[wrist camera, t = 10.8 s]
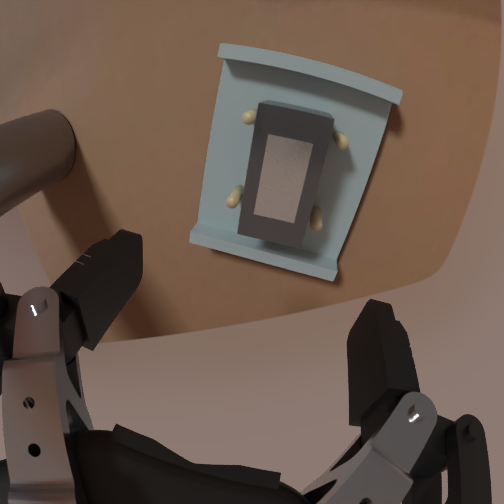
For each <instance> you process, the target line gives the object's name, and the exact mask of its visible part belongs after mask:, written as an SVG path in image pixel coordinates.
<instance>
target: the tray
mask: <svg viewBox="0 0 504 504" xmlns="http://www.w3.org/2000/svg"><path fill="white" fill-rule="evenodd" d="M218 57H219V58H222V59H224V64H223V69H222V74H221V78H220V84H219V89H218V94H217V99H216V105H215V110H214V116H213V121H212V127H211V133H210V139H209V145H208V152H207V158H206V164H205V171H204V178H203V185H202V192H201V200H200V207H199V215H198V222H197V223H196V225H195V226H194V227H193V229H192V230H191V231H190V241H189V242H190V243H194V244H197V245H201V246H204V247H208V248H212V249H215V250H219V251H223V252H226V253H230V254H233V255H237V256H241V257H244V258H248V259H252V260H255V261H259V262H263V263H266V264H270V265H274V266H277V267H281V268H285V269H288V270H292V271H296V272H299V273H303V274H307V275H310V276H314V277H318V278H322V279H325V280H329V281H334V279H335V276H336V274H337V272H338V270H337V257H338V255H339V253H340V250H341V248H342V245H343V243H344V241H345V238H346V236H347V233H348V231H349V228H350V226H351V223H352V221H353V218H354V215H355V213H356V210H357V208H358V205H359V202H360V200H361V197H362V194H363V191H364V189H365V186H366V183H367V180H368V178H369V175H370V172H371V169H372V166H373V163H374V160H375V157H376V154H377V151H378V148H379V145H380V142H381V139H382V136H383V133H384V130H385V126H386V123H387V120H388V117H389V113H390V110H391V106H392V103H393V104H397V105H399V104H400V101H401V97H402V94H403V91H402V90H400V89H397V88H395V87H393V86H390V85H388V84H385V83H382V82H380V81H377V80H375V79H372V78H369V77H366V76H363V75H361V74H358V73H355V72H352V71H349V70H345V69H342V68H339V67H336V66H332V65H329V64H325V63H322V62H318V61H314V60H311V59H307V58H303V57H298V56H294V55H290V54H285V53H280V52H275V51H270V50H265V49H259V48H253V47H247V46H240V45H232V44H224V43H220V47H219V52H218ZM266 100H273V101H278V102H283V103H288V104H293V105H298V106H302V107H307V108H311V109H315V110H319V111H323V112H327V113H330V114H331V115H332V117H333V118H334V119H335V120H334V124H333V129H332V133H331V137H330V141H329V145H328V149H327V153H326V157H325V161H324V165H323V169H322V173H321V177H320V181H319V185H318V189H317V192H316V196H315V200H314V204H313V207H312V211H311V214H310V218H309V222H308V225H307V229H306V232H305V236H304V239H303V243H302V246H301V249H299V248H295V247H291V246H286V245H282V244H278V243H274V242H269V241H265V240H261V239H256V238H252V237H248V236H244V235H239V234H237V231H238V224H239V218H240V211H241V205H242V199H243V192H244V186H245V180H246V174H247V168H248V162H249V156H250V150H251V144H252V138H253V132H254V126H255V120H256V114H257V109H258V103H259V102H262V101H266Z"/></svg>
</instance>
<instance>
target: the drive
mask: <svg viewBox="0 0 504 504" xmlns="http://www.w3.org/2000/svg"><path fill="white" fill-rule="evenodd" d="M334 120H335V119H334V118H333V117H332V115H331V114H330V113H327V112H323V111H319V110H315V109H311V108H307V107H302V106H298V105H293V104H288V103H283V102H278V101H273V100H266V101H262V102H259V103H258V109H257V114H256V120H255V126H254V132H253V138H252V144H251V150H250V156H249V162H248V168H247V174H246V180H245V186H244V192H243V199H242V205H241V211H240V218H239V224H238V231H237V234H239V235H244V236H248V237H252V238H256V239H261V240H265V241H269V242H274V243H278V244H282V245H286V246H291V247H295V248H299V249H301V246H302V243H303V239H304V236H305V232H306V229H307V225H308V222H309V218H310V214H311V211H312V207H313V204H314V200H315V196H316V192H317V189H318V185H319V181H320V177H321V173H322V169H323V165H324V161H325V157H326V153H327V149H328V145H329V141H330V137H331V133H332V129H333V124H334Z"/></svg>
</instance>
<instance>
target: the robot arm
mask: <svg viewBox="0 0 504 504" xmlns="http://www.w3.org/2000/svg"><path fill="white" fill-rule="evenodd" d="M74 158H75V140H74V136H73V132H72V129H71V127H70V124H69V123H68V121H67V119H66V118H65V117H64V116H63V115H62V114H61V113H59V112H58V111H55V110H44V111H41V112H37V113H34V114H31V115H27V116H24V117H21V118H18V119H15V120H12V121H9V122H6V123H3V124H0V217H1V216H2V215H4V214H5V213H7V212H8V211H9V210H11V209H13V208H14V207H16V206H17V205H19V204H20V203H22V202H23V201H25V200H26V199H28V198H30V197H31V196H33V195H35V194H36V193H38V192H39V191H41V190H43V189H45V188H46V187H48V186H50V185H52V184H53V183H55V182H57V181H59V180H60V179H62V178H64V177H65V176H66V175H67V174H68V173H69V171H70V170H71V168H72V165H73V162H74ZM142 273H143V241H142V236H141V235H140V234H136V233H133V232H130V231H126V230H123V229H121V230H119V231H118V232H117V233H116V234H115V235H113V236H112V237H111V238H110V239H109V240H107V239H104V240H102V241H100V242H98V243H96V244H94V245H92V246H91V247H90V248H89V249H88V250H87V251H86V252H85V253H84V255H82V256H80V257H79V258H78V259H77V261H76V262H74V263H73V264H72V265H71V266H70V267H69V268H68V269H67V270H66V271H65V272H64V273H63V274H62V275H61V276H60V277H59V278H58V279H57V280H56V281H55V282H54V283H53V284H52V285H51V287H36V288H32V289H30V290H29V291H27V292H26V293H24V294H23V295H22V296H18V295H11V294H5V292H4V289H3V287H2V284H1V283H0V395H1V394H2V415H3V431H4V442H5V450H6V459H4V460H1V461H0V504H400V503H401V502H402V504H442V480H441V479H442V477H441V472H443V471H445V470H448V498H447V501H446V503H445V504H492V497H491V480H490V468H489V459H488V451H487V444H486V438H485V432H484V428H483V426H482V424H481V422H480V421H479V420H478V419H477V418H476V417H475V416H473V415H469V414H466V415H463V416H461V417H460V418H459V419H457V420H456V421H455V422H454V421H451V420H449V419H446V418H444V417H442V416H439V415H437V411H436V408H435V406H434V404H433V402H432V401H431V400H430V399H429V398H428V397H427V396H426V395H424V394H422V393H420V388H419V383H418V378H417V373H416V369H415V364H414V360H413V357H412V351H411V348H410V347H409V346H410V343H409V339H408V335H407V332H406V331H405V329H404V327H403V326H402V324H401V323H400V321H396V320H395V317H394V313H393V309H392V306H391V304H389V303H385V302H381V301H377V300H373V299H370V300H369V301H368V302H367V303H366V305H365V306H364V308H363V310H362V312H361V313H360V315H359V317H358V318H357V320H356V322H355V323H354V325H353V327H352V328H351V330H350V332H349V335H348V339H347V359H348V383H349V425H352V426H360V427H361V434H359V435H358V436H357V437H356V438H355V440H354V441H353V442H352V443H351V444H350V445H349V446H348V448H347V449H346V450H345V451H344V452H343V453H342V454H341V455H340V457H339V458H338V459H337V460H336V461H335V462H334V463H333V464H332V465H331V466H330V467H329V468H328V469H327V470H326V471H325V472H324V473H323V474H322V475H321V476H320V477H319V478H317V479H316V480H315V481H313V482H312V483H311V484H310V485H308V486H307V487H306V488H305V489H304V490H303V491H302V492H301V493H300V492H298V491H297V490H295V489H294V488H292V487H291V486H289V485H287V484H285V483H283V482H281V481H280V475H281V473H279V472H273V471H267V470H261V469H256V468H250V467H246V466H241V465H209V464H195V463H192V462H190V461H188V460H186V459H184V458H183V457H181V456H179V455H178V454H176V453H174V452H173V451H171V450H169V449H168V448H166V447H165V446H163V445H162V444H160V443H159V442H157V441H155V440H154V439H151V438H149V437H146V436H144V435H141V434H139V433H136V432H134V431H132V430H129V429H127V428H125V427H122V426H120V425H118V424H116V425H115V427H114V429H113V431H106V430H94V429H93V425H92V421H91V419H90V415H89V413H88V410H87V407H86V404H85V398H84V393H83V387H82V380H81V373H80V365H79V357H78V353H77V352H78V351H79V349H80V348H81V346H83V347H85V348H88V349H90V350H92V351H93V350H94V348H95V347H96V345H97V344H98V342H99V341H100V339H101V338H102V337H103V335H104V334H105V332H106V331H107V329H108V328H109V326H110V325H111V323H112V322H113V321H114V319H115V318H116V316H117V315H118V313H119V312H120V311H121V309H122V308H123V306H124V305H125V304H126V302H127V301H128V299H129V298H130V297H131V295H132V294H133V292H134V291H135V290H136V288H137V287H138V285H139V283H140V281H141V278H142Z"/></svg>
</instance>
